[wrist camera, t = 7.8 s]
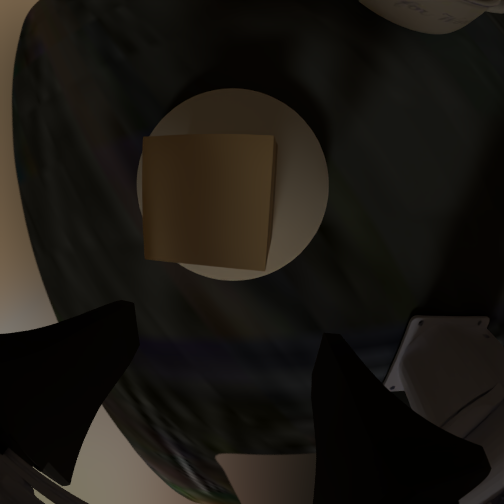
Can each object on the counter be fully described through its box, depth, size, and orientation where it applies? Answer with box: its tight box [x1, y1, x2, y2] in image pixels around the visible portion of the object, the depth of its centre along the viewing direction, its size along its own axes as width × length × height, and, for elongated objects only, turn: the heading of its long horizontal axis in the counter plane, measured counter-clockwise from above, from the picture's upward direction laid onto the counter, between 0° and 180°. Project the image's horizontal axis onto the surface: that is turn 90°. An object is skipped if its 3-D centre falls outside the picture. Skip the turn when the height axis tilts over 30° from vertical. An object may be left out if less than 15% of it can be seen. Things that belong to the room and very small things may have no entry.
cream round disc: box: [137, 88, 329, 281], centre depth 16 cm, size 11×11×3 cm
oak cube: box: [142, 134, 278, 271], centre depth 12 cm, size 5×5×5 cm
